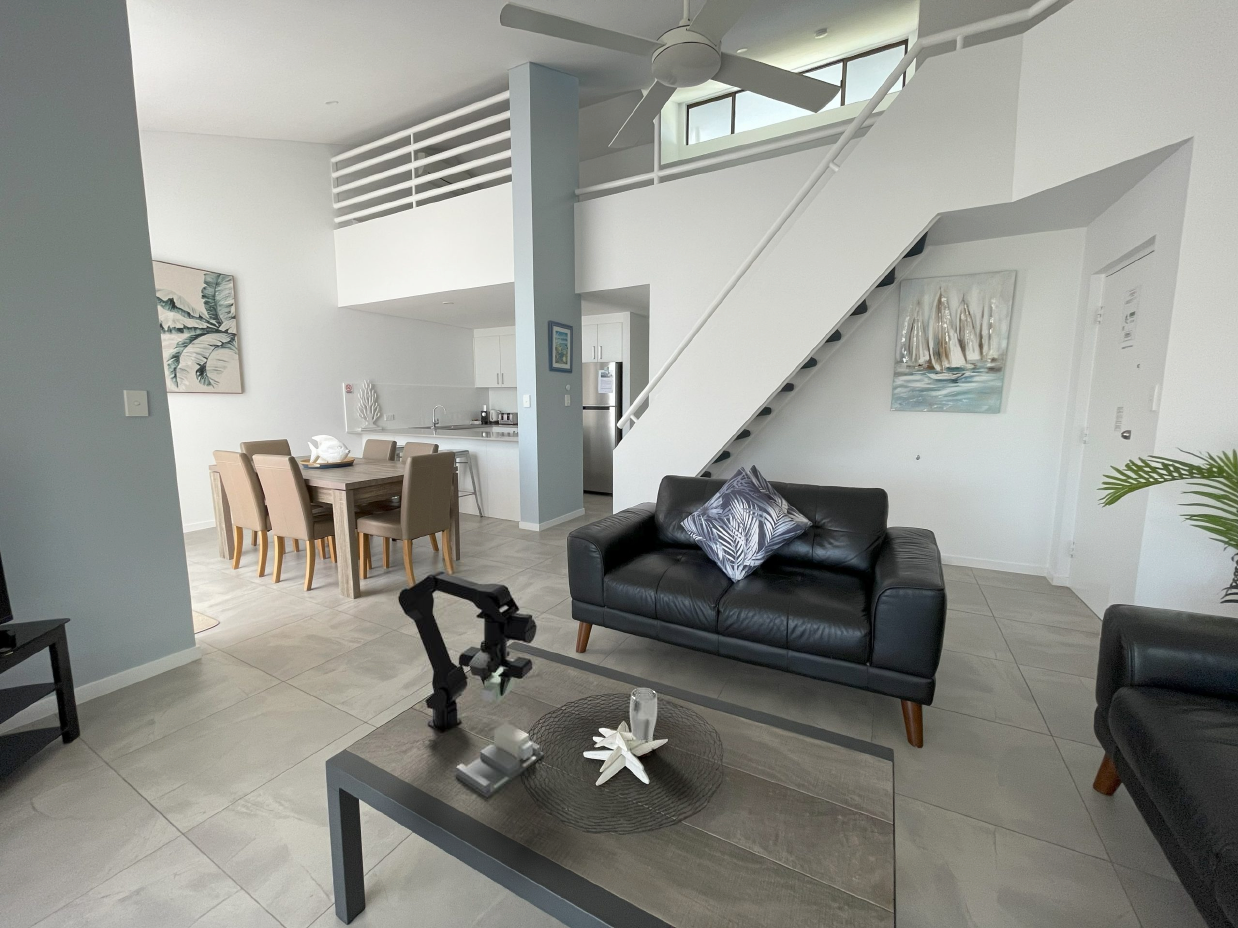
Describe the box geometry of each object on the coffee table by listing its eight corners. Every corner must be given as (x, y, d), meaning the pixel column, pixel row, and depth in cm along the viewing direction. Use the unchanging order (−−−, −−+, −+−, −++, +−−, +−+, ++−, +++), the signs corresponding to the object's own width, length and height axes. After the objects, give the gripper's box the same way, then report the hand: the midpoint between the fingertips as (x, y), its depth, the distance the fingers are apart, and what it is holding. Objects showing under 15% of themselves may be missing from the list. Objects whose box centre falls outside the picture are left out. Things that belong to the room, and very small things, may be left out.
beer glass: (653, 760, 129) (656, 703, 128) (625, 756, 131) (628, 699, 129) (656, 743, 136) (659, 689, 135) (630, 739, 137) (632, 685, 136)
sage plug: (501, 683, 142) (501, 666, 141) (514, 687, 140) (514, 669, 140) (479, 703, 132) (479, 684, 132) (493, 706, 131) (493, 687, 130)
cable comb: (455, 776, 122) (455, 767, 121) (512, 737, 136) (513, 729, 136) (486, 797, 115) (487, 788, 115) (543, 755, 130) (543, 746, 130)
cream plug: (494, 748, 131) (494, 729, 130) (505, 740, 134) (506, 722, 134) (522, 765, 125) (522, 745, 125) (534, 756, 128) (534, 737, 128)
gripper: (444, 641, 129) (445, 701, 131) (510, 656, 123) (510, 718, 124) (471, 624, 139) (471, 680, 141) (533, 637, 133) (533, 694, 135)
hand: (495, 693), depth 135 cm, fingers closed on sage plug, 4 cm apart
